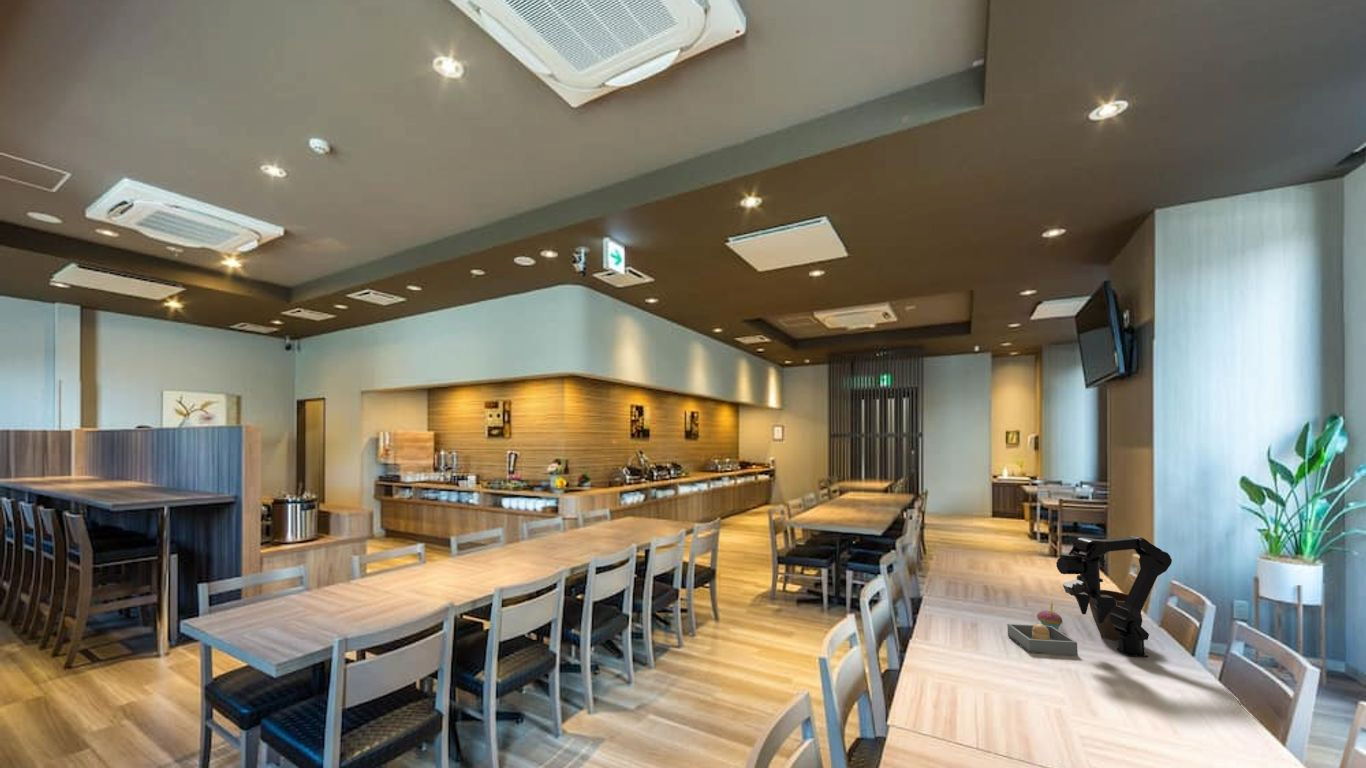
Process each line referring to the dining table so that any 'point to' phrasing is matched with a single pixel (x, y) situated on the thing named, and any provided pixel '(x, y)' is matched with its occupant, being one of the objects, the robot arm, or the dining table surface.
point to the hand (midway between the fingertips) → (1091, 618)
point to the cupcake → (1050, 618)
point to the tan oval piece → (1040, 632)
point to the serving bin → (1053, 646)
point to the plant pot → (1108, 616)
